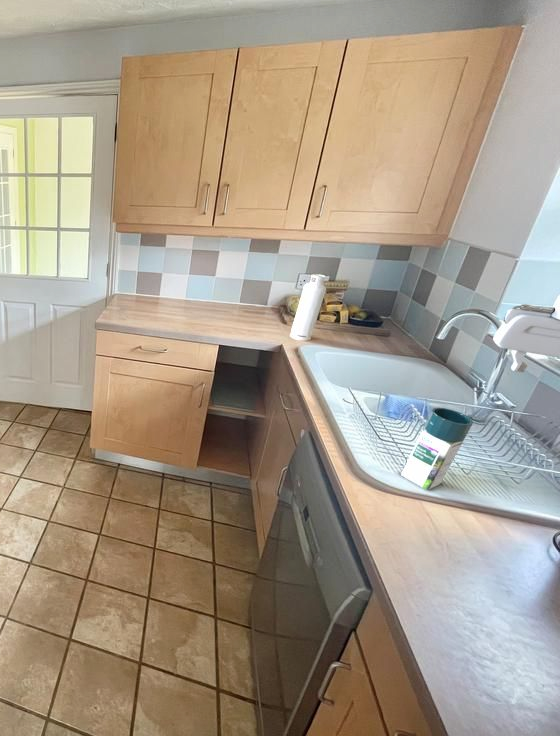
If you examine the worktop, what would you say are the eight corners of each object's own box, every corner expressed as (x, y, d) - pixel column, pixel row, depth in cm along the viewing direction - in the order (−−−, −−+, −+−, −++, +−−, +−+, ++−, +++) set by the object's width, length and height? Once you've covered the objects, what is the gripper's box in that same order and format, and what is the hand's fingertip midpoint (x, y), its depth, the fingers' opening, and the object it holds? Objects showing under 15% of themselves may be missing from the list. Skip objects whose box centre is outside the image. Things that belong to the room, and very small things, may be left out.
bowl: (458, 431, 95) (468, 413, 92) (466, 447, 89) (477, 428, 87) (420, 422, 98) (429, 404, 96) (426, 437, 92) (436, 418, 90)
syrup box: (397, 479, 101) (421, 430, 95) (411, 473, 103) (435, 425, 97) (424, 495, 96) (450, 444, 90) (438, 488, 98) (465, 438, 92)
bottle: (285, 334, 186) (303, 273, 175) (299, 333, 189) (317, 272, 177) (300, 341, 179) (319, 278, 168) (314, 339, 182) (334, 277, 170)
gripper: (518, 306, 81) (485, 369, 86) (681, 328, 71) (631, 397, 77) (506, 298, 86) (475, 358, 91) (657, 317, 76) (612, 383, 82)
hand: (548, 376), depth 84 cm, fingers open, 8 cm apart
